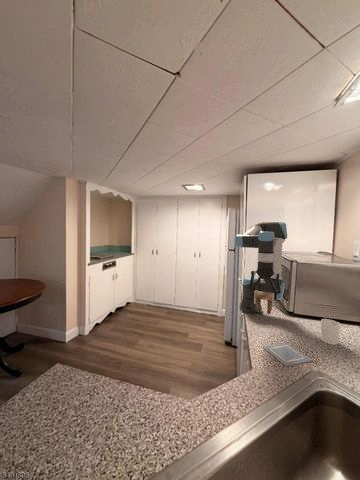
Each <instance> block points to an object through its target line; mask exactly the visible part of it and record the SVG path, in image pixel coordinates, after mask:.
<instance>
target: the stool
mask: <svg viewBox="0 0 360 480" xmlns="http://www.w3.org/2000/svg"><path fill="white" fill-rule="evenodd" d="M272 294H273V293H268V292H262V291H257V292H256V294H255V298H256V312H259V308H260V307H262V304H261V303H262V300H263V301H267V303H266V304H267V306H266V307H267V308H266V309H267V310H266V313H267V315H271V311H272V310H273V307H272Z"/></svg>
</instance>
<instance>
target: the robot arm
mask: <svg viewBox="0 0 360 480" xmlns="http://www.w3.org/2000/svg"><path fill="white" fill-rule="evenodd" d="M287 231H288V229H287V224H286V222H284V221H275V222H274V221H266V222H265V221H263V222H258V223H255V224H253V225H251V226H250V227H249V229H248V230H247V231H246V232H245V233H243V234H236V235H235V237H234V245H235V247H236V248H240V249H241V248H247V249H248V248H249V249H250V248H251V249H257V260H258V261H257V269H256V270H252V271H250V276H247V277H244V278H243V280H242V285H241V286H242V292H241V295H242V298H241V300H240V303H239V310H240V311H241V312H243V313H246V314H253V315H257V314H261V313H262V312H263V308H262V306H261V307H260V308H259V312H256V298H255V294H256V292H257V291H262V292H268V293H273V294H272V308H274V307H275V301H281V300H282V299H283V297H284V291H285V286H286V283H285V282H284V281H283V280H284V279H283V278H282V277H281V272H282V271H281V270H282V258H283V256H282V255H283V243H285V242H286V239H288V232H287ZM256 274H257V276H256Z"/></svg>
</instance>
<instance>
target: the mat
mask: <svg viewBox="0 0 360 480" xmlns="http://www.w3.org/2000/svg"><path fill="white" fill-rule="evenodd" d="M262 349H264V350H265V351H266V352H267V353H268V354H270V355H271V356H272V357H273V358H275V359H276V360H277V361H279V363H280V364H281V365H283V366H285V367H291V366H296V365H300V364H305V363H311V362H313V359H311V358H309V357H308V356H307V355H305V354H304V353H303V352H301V351H300V350H298V349H296V348H295V347H294V346H292V345H290V344H289V343H287V342H284V343H279V344H273V345H267V346H262Z"/></svg>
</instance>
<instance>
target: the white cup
mask: <svg viewBox="0 0 360 480" xmlns="http://www.w3.org/2000/svg"><path fill="white" fill-rule="evenodd" d="M340 331H341V323H340V322H339V321H336V320H334V319H333V320H332V319H329V318H322V319H321V320H320V333H321V340H322V342H324V343H325V344H327V345H332V346H336V345H338V344H339V340H340V339H339V338H340Z"/></svg>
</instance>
